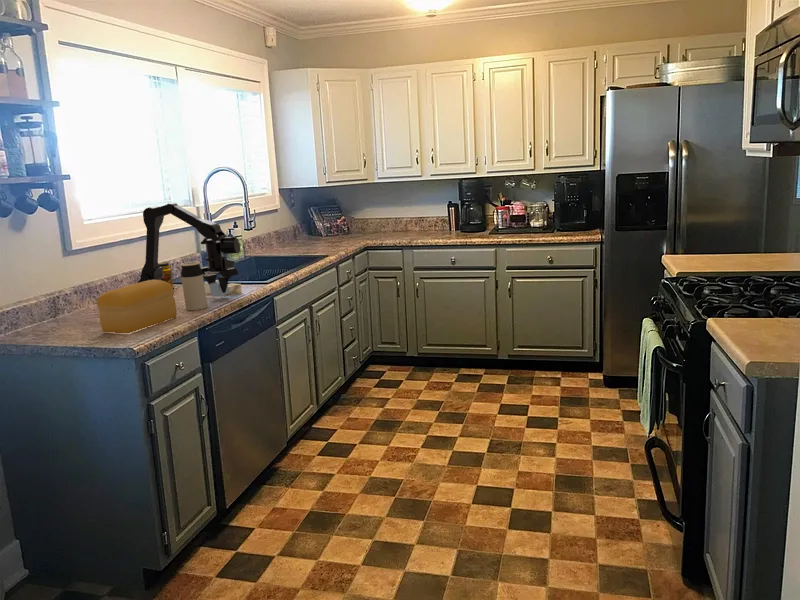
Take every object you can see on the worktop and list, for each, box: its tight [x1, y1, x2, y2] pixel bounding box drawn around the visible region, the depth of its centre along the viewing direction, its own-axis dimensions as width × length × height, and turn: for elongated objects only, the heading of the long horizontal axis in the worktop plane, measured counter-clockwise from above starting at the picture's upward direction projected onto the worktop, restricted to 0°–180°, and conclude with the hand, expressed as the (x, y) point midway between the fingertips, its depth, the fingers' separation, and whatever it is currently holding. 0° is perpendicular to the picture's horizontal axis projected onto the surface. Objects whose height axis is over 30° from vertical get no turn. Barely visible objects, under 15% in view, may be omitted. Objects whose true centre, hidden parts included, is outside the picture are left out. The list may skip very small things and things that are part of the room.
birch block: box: [224, 283, 243, 297], centre depth 282 cm, size 6×6×4 cm
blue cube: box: [209, 279, 229, 297], centre depth 272 cm, size 5×5×5 cm
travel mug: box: [180, 261, 208, 311], centre depth 257 cm, size 8×8×18 cm
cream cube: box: [204, 279, 218, 294], centre depth 289 cm, size 5×5×5 cm
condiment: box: [158, 262, 178, 290], centre depth 305 cm, size 7×8×12 cm
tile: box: [221, 294, 241, 299], centre depth 277 cm, size 6×4×1 cm, turn 147°
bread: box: [96, 280, 178, 333], centre depth 238 cm, size 24×13×15 cm, turn 157°
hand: (219, 292), depth 273 cm, fingers closed on blue cube, 5 cm apart
